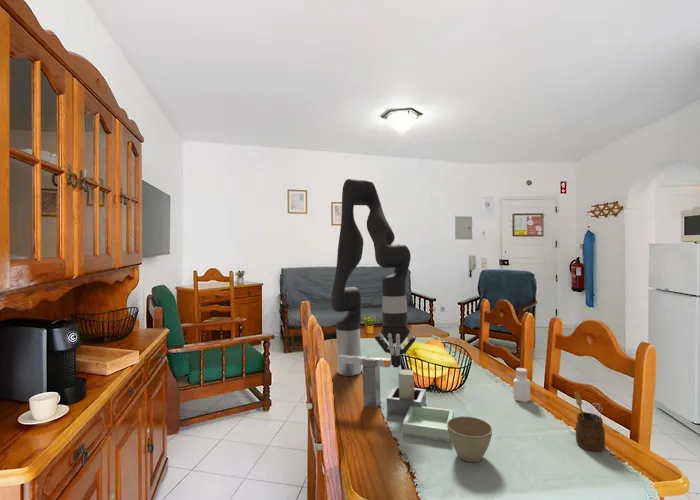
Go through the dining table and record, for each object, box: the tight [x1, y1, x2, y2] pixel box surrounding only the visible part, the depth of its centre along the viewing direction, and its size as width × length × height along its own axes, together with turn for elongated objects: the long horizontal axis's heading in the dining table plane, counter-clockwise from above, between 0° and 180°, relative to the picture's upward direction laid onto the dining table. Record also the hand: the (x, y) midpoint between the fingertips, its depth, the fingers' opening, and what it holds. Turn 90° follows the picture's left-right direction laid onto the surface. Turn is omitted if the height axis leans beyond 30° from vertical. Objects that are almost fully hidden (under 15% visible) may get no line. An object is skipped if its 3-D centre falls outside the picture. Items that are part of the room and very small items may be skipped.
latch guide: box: [361, 355, 381, 409], centre depth 118 cm, size 5×4×14 cm
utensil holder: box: [574, 390, 606, 452], centre depth 91 cm, size 6×6×12 cm
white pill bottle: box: [513, 367, 531, 403], centre depth 118 cm, size 4×4×10 cm
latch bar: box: [339, 355, 392, 368], centre depth 119 cm, size 2×16×2 cm, turn 70°
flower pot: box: [447, 415, 493, 463], centre depth 88 cm, size 10×10×7 cm
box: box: [398, 369, 415, 400], centre depth 115 cm, size 5×4×11 cm
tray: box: [401, 405, 455, 443], centre depth 103 cm, size 12×12×3 cm
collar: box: [386, 385, 427, 417], centre depth 115 cm, size 10×10×4 cm
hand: (396, 366), depth 116 cm, fingers closed
